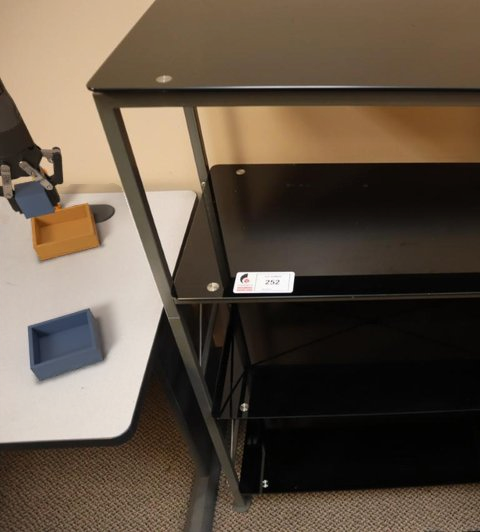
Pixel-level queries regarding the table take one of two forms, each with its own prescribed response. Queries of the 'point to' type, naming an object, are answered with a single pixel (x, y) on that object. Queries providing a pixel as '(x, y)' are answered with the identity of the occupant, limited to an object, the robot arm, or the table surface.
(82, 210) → the ochre bin
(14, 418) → the table surface
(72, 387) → the table surface
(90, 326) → the blue bin
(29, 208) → the blue block
